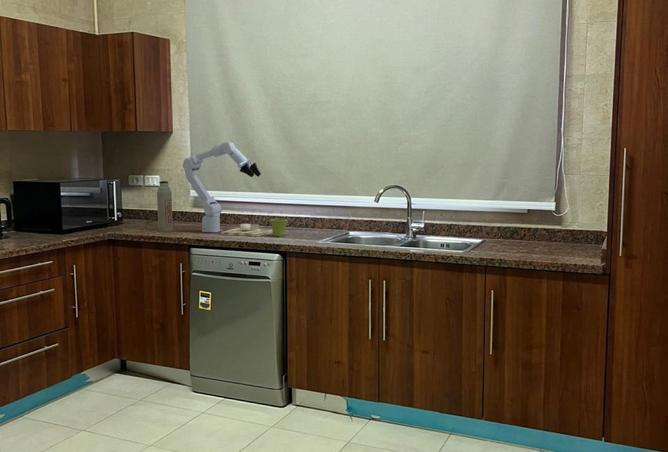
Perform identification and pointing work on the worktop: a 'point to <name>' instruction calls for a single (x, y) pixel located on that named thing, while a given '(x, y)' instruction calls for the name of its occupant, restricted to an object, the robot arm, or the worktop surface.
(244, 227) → the cream cap
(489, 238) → the worktop surface
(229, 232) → the birch board
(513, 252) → the worktop surface
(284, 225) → the plant pot
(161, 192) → the thermos bottle
